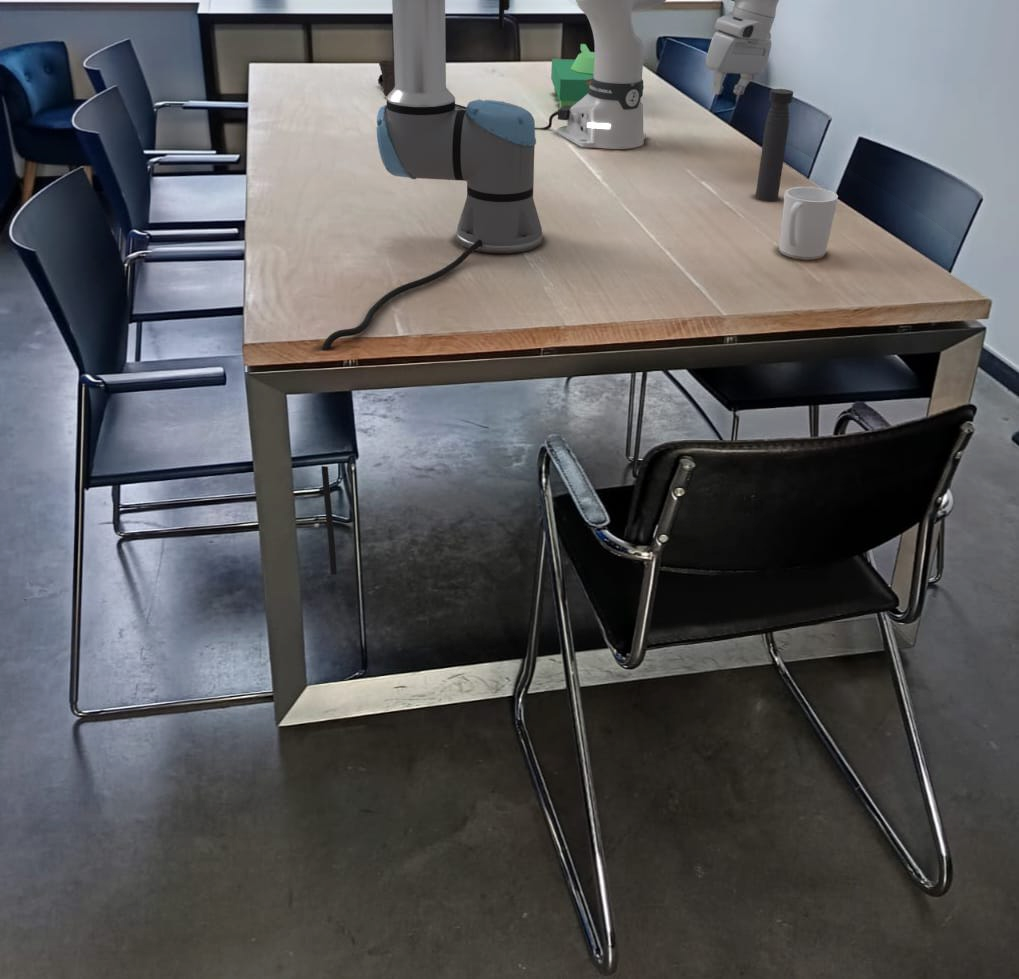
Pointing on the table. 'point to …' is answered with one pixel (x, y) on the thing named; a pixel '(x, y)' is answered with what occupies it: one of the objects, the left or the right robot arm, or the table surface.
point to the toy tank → (572, 77)
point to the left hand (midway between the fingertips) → (468, 26)
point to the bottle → (773, 152)
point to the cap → (781, 96)
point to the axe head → (387, 76)
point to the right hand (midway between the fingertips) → (726, 93)
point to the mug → (806, 222)
